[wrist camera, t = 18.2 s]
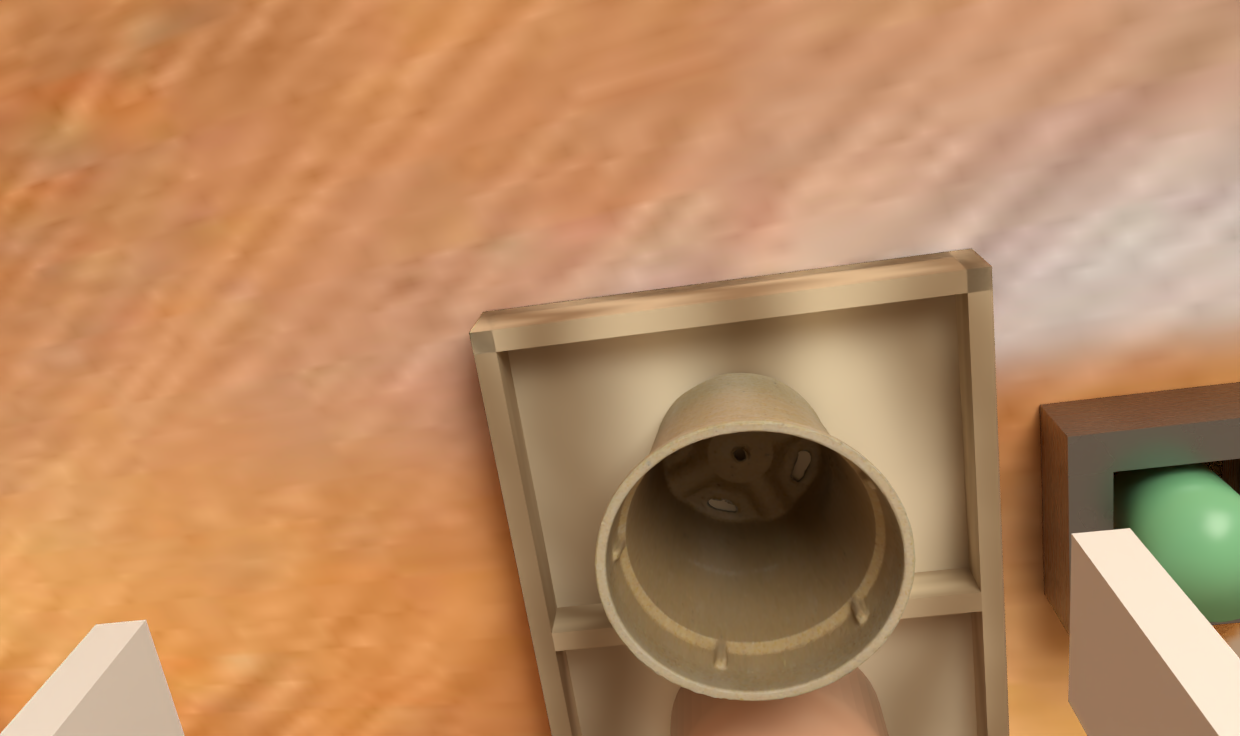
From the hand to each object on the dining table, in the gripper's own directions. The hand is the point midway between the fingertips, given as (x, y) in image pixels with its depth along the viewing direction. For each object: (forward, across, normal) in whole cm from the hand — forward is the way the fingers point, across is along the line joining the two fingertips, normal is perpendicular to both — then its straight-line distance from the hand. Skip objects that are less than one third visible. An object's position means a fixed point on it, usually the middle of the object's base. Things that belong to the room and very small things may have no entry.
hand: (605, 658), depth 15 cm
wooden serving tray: (+24, +3, -14) cm, 28 cm away
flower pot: (+23, +3, -8) cm, 25 cm away
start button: (+23, +18, -11) cm, 31 cm away
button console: (+24, +18, -12) cm, 32 cm away
